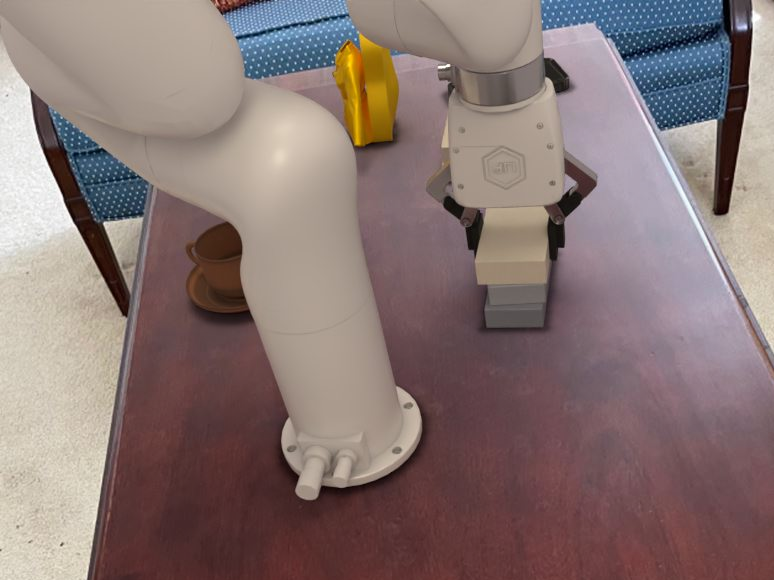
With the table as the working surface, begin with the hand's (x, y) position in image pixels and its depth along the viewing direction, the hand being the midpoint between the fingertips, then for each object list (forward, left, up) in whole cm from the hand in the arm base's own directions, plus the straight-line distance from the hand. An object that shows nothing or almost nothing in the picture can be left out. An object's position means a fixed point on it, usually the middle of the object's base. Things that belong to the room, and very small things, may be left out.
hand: (517, 252), depth 92 cm
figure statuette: (+33, +22, -5) cm, 40 cm away
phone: (+43, +6, -5) cm, 44 cm away
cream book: (0, 0, 0) cm, 0 cm away
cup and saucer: (+1, +30, -5) cm, 30 cm away
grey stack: (0, 0, -4) cm, 4 cm away
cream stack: (+26, +8, -4) cm, 28 cm away
